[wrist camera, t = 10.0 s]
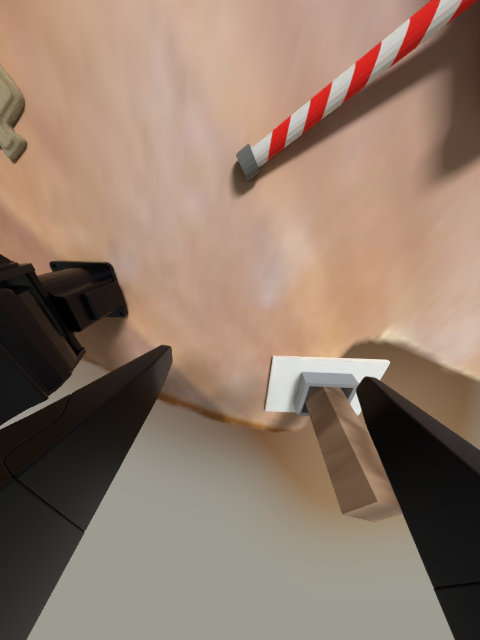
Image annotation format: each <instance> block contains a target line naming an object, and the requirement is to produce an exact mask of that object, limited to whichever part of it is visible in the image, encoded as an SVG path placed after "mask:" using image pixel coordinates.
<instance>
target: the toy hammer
mask: <svg viewBox="0 0 480 640" xmlns="http://www.w3.org/2000/svg"><path fill="white" fill-rule="evenodd" d="M477 1H478V0H431V1H430V2H429V3H428V4H426V5H425V6H424V7H423V8H421V9H420V10H419V11H418V12H417V13H415V14H414V15H413V16H412V17H410V18H409V19H408V20H407V21H406V22H404V23H403V24H402V25H401V26H400V27H398V28H397V29H396V30H395V31H393V32H392V33H391V34H390V35H389V36H387V37H386V38H385V39H384V40H382V41H381V42H380V43H379V44H378V45H376V46H375V47H374V48H373V49H372V50H370V51H369V52H368V53H367V54H365V55H364V56H363V57H362V58H361V59H359V60H358V61H357V62H356V63H354V64H353V65H352V66H351V67H350V68H348V69H347V70H346V71H345V72H343V73H342V74H341V75H340V76H339V77H337V78H336V79H335V80H334V81H333V82H331V83H330V84H329V85H328V86H326V87H325V88H324V89H323V90H322V91H320V92H319V93H318V94H317V95H315V96H314V97H313V98H312V99H311V100H309V101H308V102H307V103H306V104H305V105H303V106H302V107H301V108H300V109H298V110H297V111H296V112H295V113H294V114H292V115H291V116H290V117H289V118H287V119H286V120H285V121H284V122H283V123H281V124H280V125H279V126H278V127H277V128H275V129H274V130H273V131H272V132H270V133H269V134H268V135H267V136H266V137H264V138H263V139H262V140H261V141H259V142H258V143H257V144H256V145H254V146H253V147H252V148H250V145H249V144H248V145H246V146H245V147H244V148H243V149H242V150H240V151H239V152H238V153H237V154H236V156H237V158H238V161H239V163H240V165H241V168H242V170H243V172H244V174H245V177H246V179H247V181H249V180H250V179H252V178H253V177H254V176H256V175H257V174H258V173H260V171H259V167H260V166H261V165H263V164H264V163H265V162H267V161H268V160H269V159H270V158H272V157H273V156H274V155H276V154H277V153H278V152H280V151H281V150H282V149H284V148H285V147H286V146H288V145H289V144H290V143H291V142H293V141H294V140H295V139H297V138H298V137H299V136H301V135H302V134H303V133H305V132H306V131H307V130H309V129H310V128H311V127H312V126H314V125H315V124H316V123H318V122H319V121H320V120H322V119H323V118H324V117H326V116H327V115H328V114H330V113H331V112H332V111H333V110H335V109H336V108H337V107H339V106H340V105H341V104H343V103H344V102H345V101H347V100H348V99H349V98H351V97H352V96H353V95H355V94H356V93H357V92H358V91H360V90H361V89H362V88H364V87H365V86H366V85H368V84H369V83H370V82H372V81H373V80H374V79H376V78H377V77H378V76H379V75H381V74H382V73H383V72H385V71H386V70H387V69H389V68H390V67H391V66H393V65H394V64H395V63H397V62H398V61H399V60H400V59H402V58H403V57H404V56H406V55H407V54H408V53H410V52H411V51H412V50H414V49H415V48H416V47H418V46H419V45H420V44H421V43H423V42H424V41H425V40H427V39H428V38H429V37H431V36H432V35H433V34H435V33H436V32H437V31H439V30H440V29H441V28H442V27H444V26H445V25H446V24H448V23H449V22H450V21H452V20H453V19H454V18H456V17H457V16H458V15H460V14H461V13H462V12H463V11H465V10H466V9H467V8H469V7H470V6H471V5H473V4H474V3H475V2H477Z"/></svg>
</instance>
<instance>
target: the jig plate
mask: <svg viewBox="0 0 480 640" xmlns="http://www.w3.org/2000/svg"><path fill="white" fill-rule="evenodd" d="M389 364H390V362H389V361H388V360H376V359H375V360H374V359H349V358H323V357H296V356H273V358H272V365H271V372H270V378H269V385H268V392H267V398H266V405H265V411H277V412H296V415H308V416H310V415H309V412H308V409H307V406H306V403H305V399H306V396H307V392H308V389H309V386H317V387H341V389H342V391H343V392H344V394H345V396H346V398H347V399H348V401H349V403H350V405H351V406H352V408H353V410H354V412H355V413H356V415H359V414H360V412H361V411H362V410H361V407H360V404H359V400H358V397H357V394H356V388H357V386H358V385H359V383H360V382H361V380H362V379H363V378H364V377H365V376H369V377H375V378H377V379H378V380H380V379H381V377H382V376H383V374H384V372H385V371H386V369H387V367H388V365H389Z"/></svg>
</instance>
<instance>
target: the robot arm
mask: <svg viewBox="0 0 480 640" xmlns="http://www.w3.org/2000/svg"><path fill="white" fill-rule="evenodd" d="M105 266H107V268H108V269H107V268H106V267H105ZM50 267H51V269H52V271H53V272H50V273H46V274H42V275H38V276H37V275H36V273H35V272H34V271H35V269H34V267H33V265H32V264H31V263H27V264H18V263H17V262H14V261H11V260H9V259H7V258H6V257H4V256H2V255H1V254H0V426H1V425H2V424H3V423H5V422H7V421H8V420H10V419H11V418H13V417H15V416H16V415H18V414H20V413H22V412H23V411H25V410H27V409H29V408H31V407H33V406H35V405H37V404H39V403H41V402H44V401H46V400H47V399H48V398H49V397H48V396H49V395H50V394H52V393H53V392H55V391H56V390H57V389H58V388H59V387H61V386H62V385H63V383H64V382H65V381H66V380H67V379H68V378H69V377H70V376H71V375H72V371H73V370H74V368H75V367H76V365H77V364H78V363H79V361H80V360H81V359H82V357H83V356H84V354H85V353H86V351H85V349H84V347H81V345H80V343H79V342H78V340H77V339H76V337H75V335H74V334H75V333H77V332H80V331H82V330H84V329H85V328H87V327H88V326H90V325H91V324H93V323H95V322H96V321H98V320H100V319H102V318H103V317H125V316H126V315H127V314H128V312H127V309H126V306H125V303H124V300H123V297H122V294H121V291H120V288H119V285H118V282H117V279H116V276H115V273H114V270H113V267H112V265H111V264H110V263H108V262H82V261H52V262H50ZM122 312H123V313H124V314H123V313H122ZM172 360H173V358H172V348H171V346H167V345H160V346H158V347H157V348H155V349H153V350H151V351H149V352H147V353H145V354H144V355H142V356H140V357H138V358H136V359H134V360H132V361H131V362H129V363H127V364H125V365H123V366H121V367H119V368H118V369H116V370H114V371H112V372H110V373H108V374H106V375H105V376H103V377H101V378H99V379H97V380H96V381H93V382H92V383H90V384H88V385H86V386H84V387H82V388H81V389H79V390H77V391H75V392H73V393H72V394H71V395H67V396H66V397H64V398H62V399H60V400H58V401H57V402H54V403H52V404H50V405H49V406H47V407H45V408H43V409H41V410H39V411H37V412H35V413H33V414H31V415H29V416H27V417H25V418H23V419H21V420H19V421H17V422H15V423H13V424H11V425H9V426H7V427H5V428H2V429H1V430H0V640H27V638H28V636H29V634H30V632H31V630H32V629H33V627H34V625H35V623H36V621H37V619H38V617H39V616H40V614H41V612H42V610H43V608H44V606H45V605H46V603H47V601H48V599H49V597H50V595H51V593H52V592H53V590H54V588H55V586H56V584H57V582H58V581H59V579H60V577H61V575H62V573H63V571H64V569H65V568H66V566H67V564H68V562H69V560H70V558H71V557H72V555H73V553H74V551H75V549H76V547H77V545H78V544H79V541H80V540H81V538H82V536H83V534H84V531H85V530H86V529H87V527H88V525H89V523H90V521H91V519H92V518H93V516H94V514H95V512H96V510H97V508H98V506H99V505H100V503H101V501H102V499H103V497H104V495H105V494H106V492H107V490H108V488H109V486H110V484H111V482H112V481H113V479H114V477H115V475H116V473H117V472H118V470H119V468H120V466H121V464H122V462H123V460H124V459H125V457H126V455H127V453H128V451H129V449H130V448H131V446H132V444H133V442H134V440H135V438H136V437H137V435H138V433H139V431H140V429H141V427H142V425H143V424H144V422H145V420H146V418H147V416H148V414H149V413H150V411H151V409H152V407H153V405H154V403H155V401H156V400H157V398H158V396H159V394H160V391H161V389H162V387H163V384H164V382H165V379H166V377H167V374H168V372H169V370H170V367H171V365H172ZM356 394H357V397H358V400H359V404H360V407H361V410H362V413H363V417H364V420H365V423H366V426H367V428H368V431H369V434H370V436H371V438H372V440H373V443H374V446H375V448H376V450H377V453H378V455H379V458H380V460H381V463H382V465H383V467H384V470H385V472H386V475H387V477H388V479H389V482H390V484H391V487H392V489H393V491H394V494H395V496H396V499H397V501H398V503H399V506H400V508H401V511H402V513H403V515H404V518H405V520H406V523H407V525H408V528H409V530H410V532H411V535H412V537H413V540H414V542H415V544H416V547H417V549H418V552H419V554H420V557H421V559H422V561H423V564H424V566H425V569H426V571H427V573H428V576H429V578H430V580H431V583H432V585H433V587H434V591H435V593H436V596H437V598H438V600H439V603H440V605H441V608H442V610H443V612H444V615H445V617H446V620H447V622H448V625H449V627H450V629H451V632H452V634H453V637H454V639H455V640H480V450H479V449H477V448H476V447H474V446H473V445H472V444H470V443H469V442H467V441H466V440H464V439H463V438H461V437H460V436H459V435H457V434H456V433H454V432H453V431H451V430H450V429H449V428H447V427H446V426H444V425H443V424H441V423H440V422H439V421H437V420H436V419H434V418H433V417H431V416H430V415H428V414H427V413H426V412H424V411H423V410H421V409H420V408H419V407H417V406H416V405H414V404H413V403H411V402H410V401H409V400H407V399H405V398H404V397H403V396H401V395H400V394H398V393H397V392H396V391H394V390H393V389H391V388H390V387H388V386H387V385H386V384H384V383H383V382H381V381H380V380H378V379H377V378H375V377H369V376H365V377H364V378H363V379H362V380H361V382H360V383H359V385H358V386H357V388H356Z"/></svg>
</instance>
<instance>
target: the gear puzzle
mask: <svg viewBox="0 0 480 640" xmlns="http://www.w3.org/2000/svg"><path fill="white" fill-rule="evenodd" d="M24 104H25V100H24V97H23V94H22V92H21V91H20V89H19V87H18V86H17V85H16V83H15V82H14V81H13V79H12V78H11V77H10V76H9V75H8V73H7V72H6V71H5V70H4V68H3V67H2V66H1V65H0V146H1V148H2V149H3V151H4V153H5V154H6V155H7V157H9V158H10V159H13V160H15V159H16V158H17V157H18V156H19V155H20V154H21V152H22V151H23V150H24V148H25V147H26V145H27V142H26V140H25V139H24V138H23V137H22V136H21V135H19V134H17V133H16V132H15V131H14V129H13V125H14V123H15V122H16V120H17V119H18V117H19V115H20V114H21V112H22V110H23V108H24Z"/></svg>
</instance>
